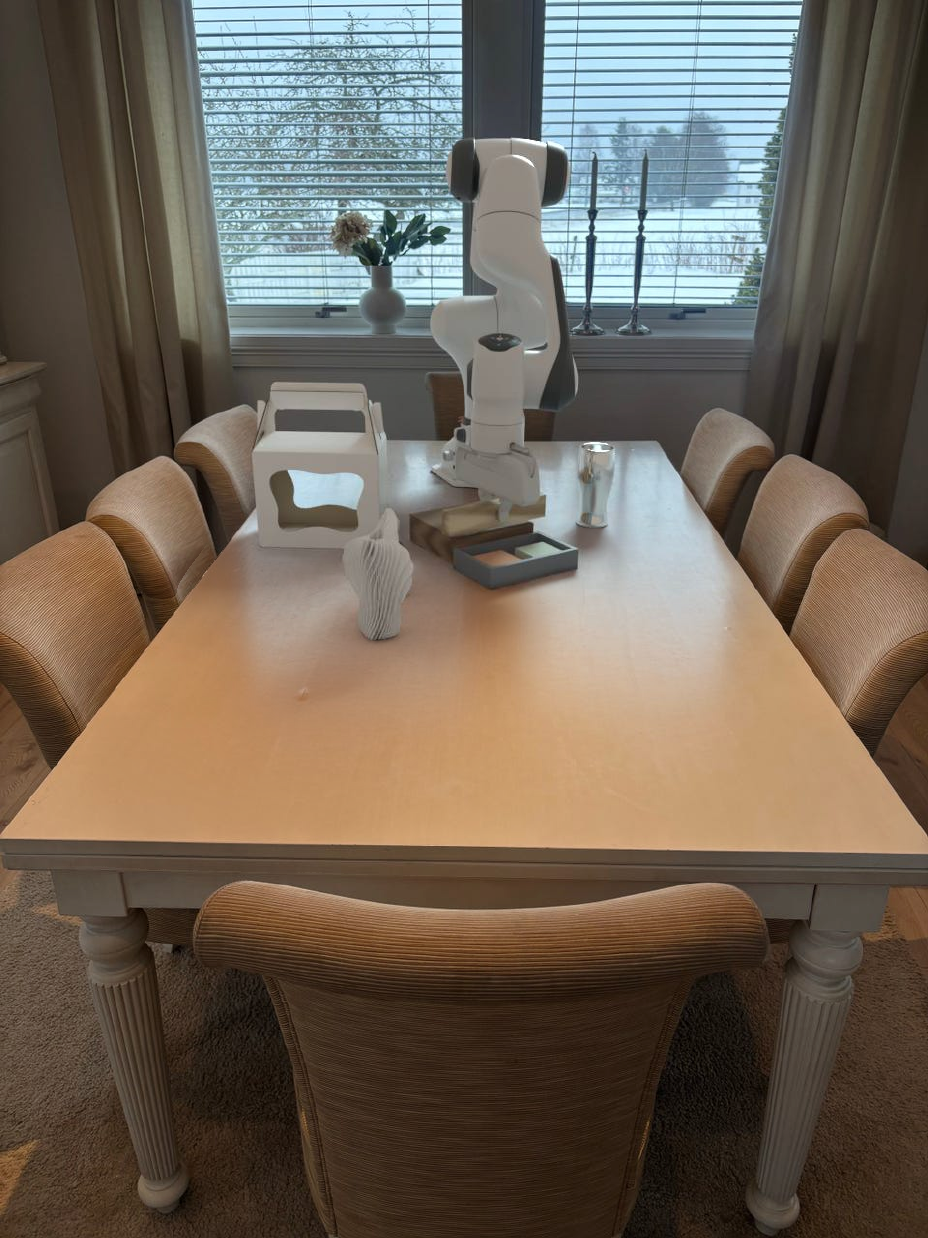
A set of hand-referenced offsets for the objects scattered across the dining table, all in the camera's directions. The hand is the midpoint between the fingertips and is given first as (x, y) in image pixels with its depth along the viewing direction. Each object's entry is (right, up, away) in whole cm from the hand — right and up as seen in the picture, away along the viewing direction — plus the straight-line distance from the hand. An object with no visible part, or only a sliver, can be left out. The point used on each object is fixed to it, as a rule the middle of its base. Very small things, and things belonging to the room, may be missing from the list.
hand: (495, 517), depth 159 cm
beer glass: (+19, +1, +21) cm, 29 cm away
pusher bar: (0, -1, +1) cm, 1 cm away
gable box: (-31, -2, +12) cm, 33 cm away
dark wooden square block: (-4, -4, +9) cm, 10 cm away
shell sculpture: (-17, -20, -26) cm, 37 cm away
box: (+3, -9, -2) cm, 10 cm away
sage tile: (+8, -6, -1) cm, 10 cm away
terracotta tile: (0, -7, -5) cm, 9 cm away
